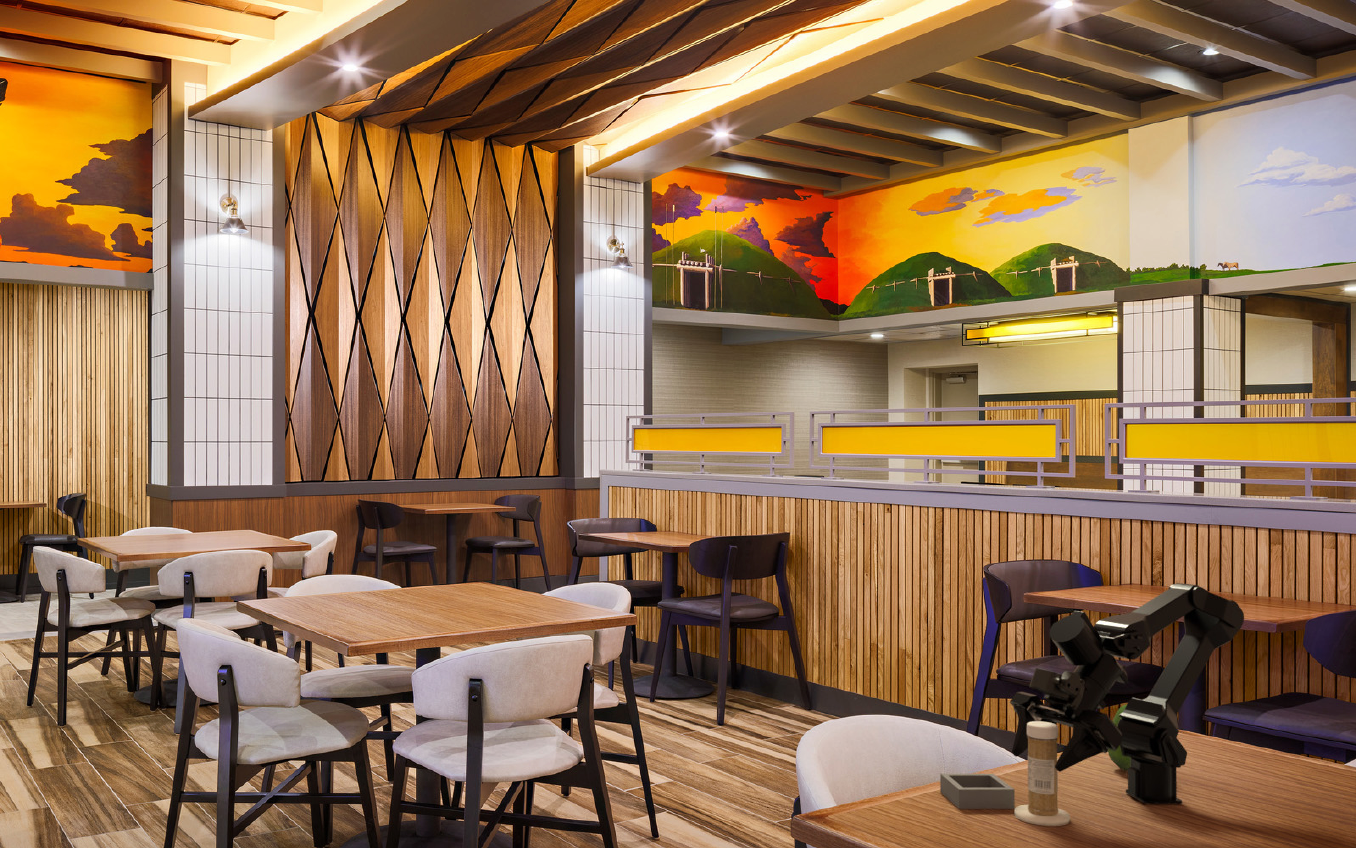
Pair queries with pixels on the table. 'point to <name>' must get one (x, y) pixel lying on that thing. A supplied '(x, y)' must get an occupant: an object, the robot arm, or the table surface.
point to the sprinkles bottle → (1042, 768)
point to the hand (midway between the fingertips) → (1034, 762)
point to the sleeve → (977, 791)
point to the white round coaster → (1041, 817)
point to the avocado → (1117, 756)
